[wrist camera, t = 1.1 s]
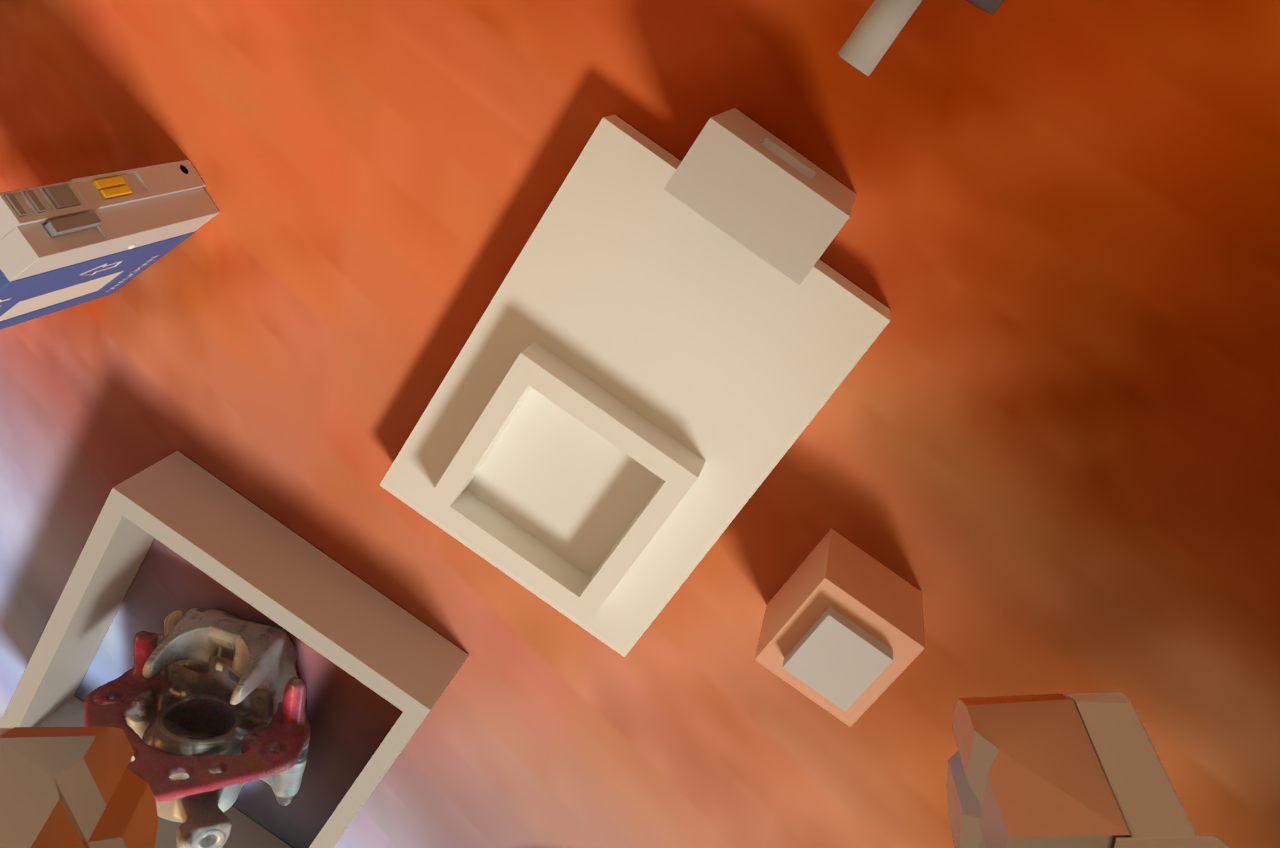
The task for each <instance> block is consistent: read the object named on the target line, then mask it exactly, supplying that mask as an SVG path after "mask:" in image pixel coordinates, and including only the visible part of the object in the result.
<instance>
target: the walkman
mask: <svg viewBox="0 0 1280 848" xmlns="http://www.w3.org/2000/svg"><path fill="white" fill-rule="evenodd" d="M204 186H205V183H204V182H203V180H202V179H201V177H200V176H199V174H198V173H197V171H196V170H195V168H194V167H193V165H192V164H191V162H190V161H189V160H183V161H177V162H171V163H165V164H159V165H153V166H147V167H141V168H135V169H129V170H123V171H117V172H111V173H105V174H99V175H93V176H87V177H81V178H75V179H71V180H69V181H68V182H62V183H56V184H50V185H44V186H38V187H32V188H26V189H21V190H15V191H9V192H3V193H0V329H3V328H6V327H10V326H13V325H16V324H19V323H22V322H25V321H28V320H31V319H34V318H38V317H41V316H44V315H47V314H50V313H53V312H56V311H59V310H62V309H65V308H69V307H72V306H75V305H78V304H81V303H84V302H87V301H90V300H93V299H97V298H100V297H103V296H106V295H109V294H112V293H114V292H115V291H116V290H118V289H119V288H120V287H122V286H123V285H124V284H126V283H127V282H128V281H130V280H131V279H132V278H134V277H135V276H137V275H138V274H139V273H141V272H142V271H143V270H145V269H146V268H147V267H149V266H150V265H151V264H153V263H154V262H155V261H157V260H158V259H159V258H161V257H162V256H163V255H165V254H166V253H168V252H169V251H170V250H172V249H173V248H174V247H176V246H177V245H178V244H180V243H181V242H182V241H184V240H185V239H186V238H188V237H189V236H190V235H192V234H193V233H194V231H196V230H197V229H198V228H200V227H201V226H202V225H204V224H205V223H206V222H208V221H209V220H211V219H212V218H213V217H215V216H216V215H217V214H219V213H220V211H219V210H218V208H217V207H216V206H215V204H214V203H213V201H212V200H211V198H210V197H209V195H208V194H207V192H206V191H205V190H204V188H203V187H204Z"/></svg>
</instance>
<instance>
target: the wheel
mask: <svg viewBox="0 0 1280 848" xmlns="http://www.w3.org/2000/svg"><path fill="white" fill-rule="evenodd" d="M921 1H922V0H874V1H873V3H872V4H871V6H870V7H869V9H868V10H867V11H866V13H865V14H864V16H863V17H862V19H861V20H860V22H859V23H858V25H857V26H856V28H855V29H854V30H853V32H852V33H851V35H850V36H849V38H848V39H847V41H846V42H845V44H844V45H843V46H842V48H841V49H840V51H839V52H838V55H839V56H840V57H841V58H843V59H844V60H845V61H847V62H848V63H849V64H851V65H852V66H853V67H855V68H856V69H858V70H859V71H861V72H862V73H864V74H865V75H867V76H869V75H870V74H871V73H872V71H873V70H874V68H875V67H876V65H877V64H878V63H879V61H880V60H881V58H882V57H883V55H884V54H885V53H886V51H887V50H888V48H889V47H890V46H891V44H892V43H893V41H894V40H895V38H896V37H897V36H898V34H899V33H900V31H901V30H902V28H903V27H904V26H905V24H906V23H907V21H908V20H909V19H910V17H911V16H912V14H913V13H914V11H915V10H916V9H917V7H918V6H919V4H920V3H921ZM966 1H968V2H969V3H971V4H973V5H974V6H976V7H978V8H979V9H981V10H983V11H985V12H987V13H989V14H992V15H993V14H994V12H995V11H996V10H997V8H998V7H999V5H1000V4H1001V3H1002V1H1003V0H966Z"/></svg>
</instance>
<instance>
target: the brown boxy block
mask: <svg viewBox="0 0 1280 848" xmlns="http://www.w3.org/2000/svg"><path fill="white" fill-rule="evenodd" d="M924 648H925V641H924V622H923V603H922V592H921V591H920V590H918V589H917V588H915V587H914V586H912V585H911V584H910V583H908V582H907V581H905V580H904V579H903V578H901V577H900V576H898V575H897V574H895V573H894V572H893V571H891V570H890V569H888V568H887V567H886V566H884V565H883V564H881V563H880V562H878V561H877V560H876V559H874V558H873V557H871V556H870V555H869V554H867V553H866V552H864V551H863V550H861V549H860V548H859V547H857V546H856V545H854V544H853V543H852V542H850V541H849V540H847V539H846V538H844V537H843V536H842V535H840V534H839V533H837V532H836V531H835V530H833V529H832V528H831V529H830V530H829V532H828V533H827V534H826V535H825V536H824V537H823V539H822V540H821V541H820V542H819V543H818V545H817V546H816V547H815V548H814V549H813V551H812V552H811V553H810V554H809V555H808V556H807V558H806V559H805V560H804V561H803V562H802V564H801V565H800V566H799V567H798V568H797V570H796V571H795V572H794V573H793V574H792V575H791V577H790V578H789V579H788V580H787V581H786V583H785V584H784V585H783V586H782V587H781V589H780V590H779V591H778V592H777V593H776V595H775V596H774V597H773V598H772V599H771V600H770V602H769V603H768V604H767V606H766V611H765V615H764V620H763V624H762V628H761V633H760V637H759V642H758V646H757V651H756V655H755V661H757V662H758V663H760V664H761V665H763V666H764V667H765V668H767V669H768V670H770V671H771V672H773V673H774V674H775V675H777V676H778V677H780V678H781V679H783V680H784V681H785V682H787V683H788V684H790V685H791V686H793V687H794V688H795V689H797V690H798V691H800V692H801V693H802V694H804V695H805V696H807V697H808V698H810V699H811V700H812V701H814V702H815V703H817V704H818V705H820V706H821V707H822V708H824V709H825V710H827V711H828V712H830V713H831V714H832V715H834V716H835V717H837V718H838V719H840V720H841V721H842V722H844V723H845V724H847V725H848V726H850V727H851V726H852V725H853V724H854V723H855V722H856V721H857V719H858V718H859V717H860V716H861V715H862V714H863V713H864V712H865V711H866V710H867V709H868V708H869V707H870V706H871V705H872V704H873V703H874V701H875V700H876V699H877V698H878V697H879V696H880V695H881V694H882V693H883V692H884V691H885V690H886V689H887V688H888V687H889V686H890V684H891V683H892V682H893V681H894V680H895V679H896V678H897V677H898V676H899V675H900V674H901V673H902V672H903V671H904V670H905V669H906V668H907V666H908V665H909V664H910V663H911V662H912V661H913V660H914V659H915V658H916V657H917V656H918V655H919V654H920V653H921V652H922V651H923V649H924Z"/></svg>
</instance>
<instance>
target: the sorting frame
mask: <svg viewBox="0 0 1280 848" xmlns="http://www.w3.org/2000/svg"><path fill="white" fill-rule="evenodd" d="M154 539H157V540H158V541H160V542H161V543H163V544H164V545H165V546H167V547H168V548H170V549H171V550H173V551H174V552H175V553H177V554H178V555H180V556H181V557H183V558H184V559H185V560H187V561H188V562H190V563H191V564H193V565H194V566H195V567H197V568H198V569H200V570H201V571H203V572H204V573H205V574H207V575H208V576H210V577H211V578H213V579H214V580H215V581H217V582H218V583H220V584H221V585H223V586H224V587H225V588H227V589H228V590H230V591H231V592H233V593H234V594H235V595H237V596H238V597H240V598H241V599H243V600H244V601H245V602H247V603H248V604H250V605H251V606H253V607H254V608H255V609H257V610H258V611H260V612H261V613H263V614H264V615H265V616H267V617H268V618H270V619H271V620H273V621H274V622H275V623H277V624H278V625H280V626H281V627H283V628H284V629H286V630H287V631H288V632H290V633H291V634H293V635H294V636H296V637H297V638H298V639H300V640H301V641H303V642H304V643H306V644H307V645H308V646H310V647H311V648H313V649H314V650H316V651H317V652H318V653H320V654H321V655H323V656H324V657H326V658H327V659H328V660H330V661H331V662H333V663H334V664H336V665H337V666H338V667H340V668H341V669H343V670H344V671H346V672H347V673H348V674H350V675H351V676H353V677H354V678H356V679H357V680H358V681H360V682H361V683H363V684H364V685H366V686H367V687H368V688H370V689H371V690H373V691H374V692H376V693H377V694H378V695H380V696H381V697H383V698H384V699H386V700H387V701H388V702H390V703H391V704H393V705H394V706H396V707H397V708H398V709H400V710H401V711H403V713H402V714H401V716H400V717H399V718H398V720H397V721H396V723H395V724H394V726H393V727H392V729H391V730H390V731H389V733H388V734H387V736H386V737H385V739H384V740H383V741H382V743H381V744H380V746H379V747H378V749H377V750H376V752H375V753H374V754H373V756H372V757H371V759H370V760H369V762H368V763H367V765H366V766H365V767H364V769H363V770H362V772H361V773H360V775H359V776H358V778H357V779H356V780H355V782H354V783H353V785H352V786H351V788H350V789H349V790H348V792H347V793H346V795H345V796H344V798H343V799H342V801H341V802H340V803H339V805H338V806H337V808H336V809H335V811H334V812H333V814H332V815H331V816H330V818H329V819H328V821H327V822H326V824H325V825H324V826H323V828H322V829H321V831H320V832H319V834H318V835H317V837H316V838H315V839H314V841H313V842H312V844H311V845H310V847H309V848H333V847H334V846H335V844H336V843H337V841H338V840H339V839H340V837H341V836H342V834H343V833H344V831H345V830H346V829H347V827H348V826H349V824H350V823H351V822H352V820H353V819H354V817H355V816H356V815H357V813H358V812H359V810H360V809H361V807H362V806H363V805H364V803H365V802H366V800H367V799H368V798H369V796H370V795H371V793H372V792H373V791H374V789H375V788H376V786H377V785H378V783H379V782H380V781H381V779H382V778H383V776H384V775H385V774H386V772H387V771H388V769H389V768H390V767H391V765H392V764H393V762H394V761H395V759H396V758H397V757H398V755H399V754H400V752H401V751H402V750H403V748H404V747H405V745H406V744H407V742H408V741H409V740H410V738H411V737H412V735H413V734H414V733H415V731H416V730H417V728H418V727H419V726H420V724H421V723H422V721H423V720H424V718H425V717H426V716H427V714H428V713H429V711H430V710H431V709H432V707H433V706H434V704H435V703H436V701H437V700H438V699H439V697H440V696H441V694H442V693H443V691H444V690H445V688H446V687H447V686H448V684H449V683H450V681H451V680H452V678H453V677H454V676H455V674H456V673H457V671H458V670H459V668H460V667H461V666H462V664H463V663H464V661H465V660H466V658H467V657H468V654H467V653H465V652H464V651H463V650H461V649H460V648H458V647H457V646H455V645H454V644H453V643H451V642H450V641H448V640H447V639H445V638H444V637H443V636H441V635H440V634H438V633H437V632H435V631H434V630H433V629H431V628H430V627H428V626H427V625H426V624H424V623H423V622H421V621H420V620H418V619H417V618H416V617H414V616H413V615H411V614H410V613H408V612H407V611H406V610H404V609H403V608H401V607H400V606H398V605H397V604H396V603H394V602H393V601H391V600H390V599H388V598H387V597H386V596H384V595H383V594H381V593H380V592H378V591H377V590H376V589H374V588H373V587H371V586H370V585H368V584H367V583H366V582H364V581H363V580H361V579H360V578H358V577H357V576H356V575H354V574H353V573H351V572H350V571H348V570H347V569H346V568H344V567H343V566H341V565H340V564H338V563H337V562H336V561H334V560H333V559H331V558H330V557H329V556H327V555H326V554H324V553H323V552H321V551H320V550H319V549H317V548H316V547H314V546H313V545H311V544H310V543H309V542H307V541H306V540H304V539H303V538H301V537H300V536H299V535H297V534H296V533H294V532H293V531H291V530H290V529H289V528H287V527H286V526H284V525H283V524H281V523H280V522H279V521H277V520H276V519H274V518H273V517H271V516H270V515H269V514H267V513H266V512H264V511H263V510H261V509H260V508H259V507H257V506H256V505H254V504H253V503H251V502H250V501H249V500H247V499H246V498H244V497H243V496H242V495H240V494H239V493H237V492H236V491H234V490H233V489H232V488H230V487H229V486H227V485H226V484H224V483H223V482H222V481H220V480H219V479H217V478H216V477H214V476H213V475H212V474H210V473H209V472H207V471H206V470H204V469H203V468H202V467H200V466H199V465H197V464H196V463H194V462H193V461H192V460H190V459H189V458H187V457H186V456H184V455H183V454H182V453H180V452H179V451H176V452H174V453H172V454H171V455H169V456H167V457H165V458H164V459H162V460H160V461H158V462H157V463H155V464H153V465H151V466H150V467H148V468H146V469H144V470H143V471H141V472H139V473H137V474H136V475H134V476H132V477H130V478H128V479H127V480H125V481H123V482H121V483H120V484H118V485H116V486H114V487H113V488H112V490H111V492H110V494H109V496H108V498H107V500H106V502H105V504H104V506H103V508H102V511H101V513H100V515H99V517H98V519H97V521H96V523H95V525H94V527H93V529H92V531H91V533H90V536H89V538H88V540H87V542H86V544H85V546H84V548H83V550H82V552H81V554H80V556H79V558H78V561H77V563H76V565H75V567H74V569H73V571H72V573H71V575H70V577H69V579H68V581H67V584H66V586H65V588H64V590H63V592H62V594H61V596H60V598H59V600H58V602H57V604H56V606H55V609H54V611H53V613H52V615H51V617H50V619H49V621H48V623H47V625H46V627H45V629H44V631H43V634H42V636H41V638H40V640H39V642H38V644H37V646H36V648H35V650H34V652H33V654H32V656H31V659H30V661H29V663H28V665H27V667H26V669H25V671H24V673H23V675H22V677H21V679H20V682H19V684H18V686H17V688H16V690H15V692H14V694H13V696H12V698H11V700H10V702H9V704H8V707H7V709H6V711H5V713H4V715H3V717H2V719H1V721H0V728H14V727H85V721H84V713H85V708H84V702H82V701H81V700H80V699H78V698H77V697H75V696H74V695H75V693H76V691H77V689H78V687H79V685H80V683H81V681H82V679H83V677H84V675H85V673H86V671H87V669H88V667H89V665H90V664H91V662H92V660H93V658H94V656H95V654H96V652H97V650H98V648H99V646H100V644H101V642H102V640H103V638H104V636H105V634H106V632H107V630H108V628H109V626H110V624H111V623H112V621H113V619H114V617H115V615H116V613H117V611H118V609H119V607H120V605H121V603H122V601H123V599H124V597H125V595H126V593H127V591H128V589H129V587H130V585H131V583H132V582H133V580H134V578H135V576H136V574H137V572H138V570H139V568H140V566H141V564H142V562H143V560H144V558H145V556H146V554H147V552H148V550H149V548H150V546H151V544H152V542H153V541H154ZM130 762H131V760H130ZM223 813H224V814H225V815H226V816H227V817H228V818H229V819H230V820H231V822H232V827H231V831H230V835H229V837H228V839H227V841H226V842H225V844H224V845H223V847H222V848H292V847H290V846H289V845H287V844H286V843H285V842H283V841H282V840H280V839H279V838H277V837H276V836H275V835H273V834H272V833H270V832H269V831H267V830H266V829H265V828H263V827H262V826H260V825H259V824H257V823H256V822H254V821H253V820H252V819H250V818H249V817H247V816H246V815H244V814H243V813H242V812H240V811H239V810H237V809H236V808H234V807H233V806H231V807H230V808H229V809H228V810H227V811H225V812H223ZM181 824H183V822H173V821H169V820H166V819H164V818H161V817H159V816H158V829H157V835H156V841H155V847H154V848H176V831H177V829H178V827H179V826H180V825H181Z"/></svg>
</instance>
